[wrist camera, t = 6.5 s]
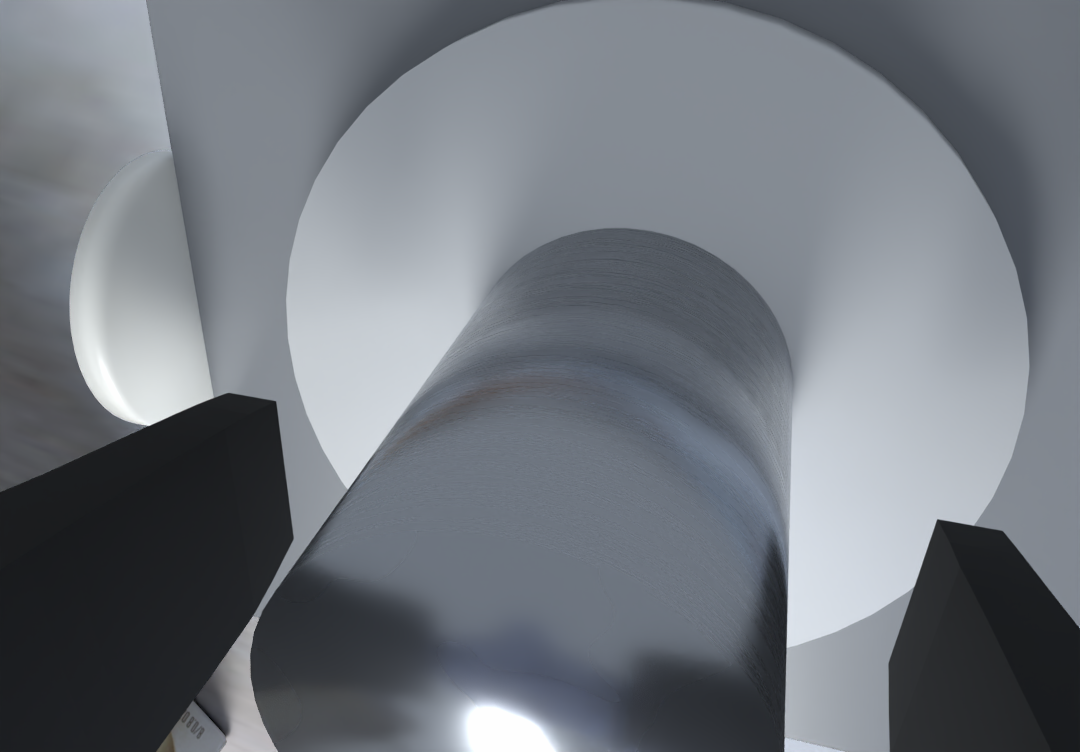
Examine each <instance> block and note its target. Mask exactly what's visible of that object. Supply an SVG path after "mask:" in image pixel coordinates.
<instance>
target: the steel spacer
mask: <svg viewBox="0 0 1080 752" xmlns="http://www.w3.org/2000/svg"><path fill="white" fill-rule="evenodd" d="M792 402H793V373H792V365H791V358H790V354H789V350H788V347H787V343H786V339H785V337H784V335H783V332H782V330H781V328H780V326H779V323H778V321H777V319H776V318H775V316H774V314H773V313H772V311H771V309H770V308H769V306H768V305H767V303H766V301H765V300H764V299H763V298H762V297H761V295H760V294H759V293H758V292H757V291H756V289H755V288H754V287H753V286H752V285H751V284H750V283H749V282H748V281H747V280H746V279H745V278H744V277H743V276H742V275H740V274H739V273H738V272H737V271H736V270H735V269H734V268H732V267H731V266H729V265H728V264H727V263H725V262H724V261H722V260H721V259H720V258H718V257H717V256H715V255H713V254H711V253H710V252H708V251H706V250H704V249H702V248H700V247H698V246H696V245H694V244H692V243H689V242H686V241H684V240H681V239H679V238H676V237H673V236H669V235H665V234H661V233H657V232H653V231H648V230H639V229H631V228H603V229H596V230H588V231H582V232H578V233H574V234H571V235H567V236H563V237H560V238H558V239H556V240H553V241H551V242H548V243H546V244H544V245H542V246H540V247H538V248H537V249H535V250H533V251H532V252H530V253H528V254H527V255H525V256H524V257H522V258H521V259H520V260H519V261H517V262H516V263H515V264H514V265H513V266H511V267H510V268H509V269H508V270H507V271H506V272H505V273H504V275H503V276H502V277H501V278H500V279H499V280H498V281H497V282H496V284H495V285H494V286H493V288H492V289H491V291H490V292H489V293H488V295H487V296H486V298H485V299H484V300H483V302H482V303H481V304H480V306H479V307H478V309H477V310H476V311H475V313H474V314H473V316H472V317H471V318H470V320H469V321H468V323H467V324H466V325H465V327H464V328H463V330H462V331H461V332H460V334H459V335H458V337H457V338H456V339H455V341H454V342H453V344H452V345H451V346H450V348H449V349H448V351H447V352H446V353H445V355H444V356H443V358H442V359H441V360H440V362H439V363H438V365H437V366H436V367H435V369H434V370H433V372H432V373H431V374H430V376H429V377H428V378H427V380H426V381H425V383H424V384H423V385H422V387H421V388H420V390H419V391H418V392H417V394H416V395H415V397H414V398H413V399H412V401H411V402H410V404H409V405H408V406H407V408H406V409H405V411H404V412H403V413H402V415H401V416H400V418H399V419H398V420H397V422H396V423H395V425H394V426H393V427H392V429H391V430H390V432H389V433H388V434H387V436H386V437H385V439H384V440H383V441H382V443H381V444H380V446H379V447H378V448H377V450H376V451H375V452H374V454H373V455H372V457H371V458H370V459H369V461H368V462H367V464H366V465H365V466H364V468H363V469H362V471H361V472H360V473H359V475H358V476H357V478H356V479H355V480H354V482H353V483H352V485H351V486H350V487H349V489H348V490H347V492H346V493H345V494H344V496H343V497H342V499H341V500H340V501H339V503H338V504H337V506H336V507H335V508H334V510H333V511H332V513H331V514H330V515H329V517H328V518H327V520H326V521H325V522H324V524H323V525H322V526H321V528H320V529H319V531H318V532H317V533H316V535H315V536H314V538H313V539H312V540H311V542H310V543H309V545H308V546H307V547H306V549H305V550H304V552H303V553H302V554H301V556H300V557H299V559H298V560H297V561H296V563H295V564H294V566H293V567H292V568H291V570H290V571H289V573H288V574H287V575H286V577H285V578H284V580H283V581H282V582H281V584H280V585H279V587H278V588H277V589H276V591H275V592H274V594H273V595H272V597H271V598H270V600H269V601H268V603H267V605H266V606H265V608H264V609H263V611H262V613H261V616H260V618H259V621H258V624H257V626H256V629H255V631H254V636H253V642H252V648H251V654H250V659H251V681H252V686H253V691H254V696H255V701H256V704H257V707H258V710H259V712H260V715H261V718H262V721H263V724H264V726H265V728H266V730H267V732H268V734H269V736H270V738H271V739H272V741H273V743H274V745H275V747H276V749H277V750H278V752H784V739H785V697H786V655H787V613H788V571H789V529H790V486H791V444H792Z"/></svg>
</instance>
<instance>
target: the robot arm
mask: <svg viewBox="0 0 1080 752" xmlns="http://www.w3.org/2000/svg"><path fill="white" fill-rule="evenodd" d="M293 540H294V535H293V528H292V520H291V512H290V504H289V497H288V489H287V481H286V473H285V466H284V458H283V450H282V442H281V434H280V427H279V419H278V411H277V403H276V401H273V400H267V399H261V398H256V397H250V396H245V395H239V394H233V393H226V394H223V395H221V396H218V397H215V398H212V399H210V400H207V401H205V402H202V403H200V404H197V405H195V406H193V407H190V408H188V409H186V410H183V411H181V412H179V413H177V414H174V415H172V416H170V417H168V418H165V419H163V420H161V421H159V422H157V423H154V424H152V425H150V426H148V427H146V428H143V429H141V430H139V431H137V432H135V433H133V434H130V435H128V436H126V437H124V438H122V439H120V440H117V441H115V442H113V443H111V444H109V445H107V446H104V447H102V448H100V449H98V450H96V451H93V452H91V453H89V454H87V455H85V456H82V457H80V458H78V459H76V460H74V461H72V462H69V463H67V464H65V465H63V466H61V467H58V468H56V469H54V470H52V471H50V472H47V473H45V474H43V475H40V476H38V477H36V478H33V479H31V480H29V481H26V482H24V483H21V484H19V485H17V486H14V487H12V488H10V489H7V490H5V491H2V492H0V752H156V751H157V750H158V749H159V747H160V746H161V744H162V743H163V742H164V740H165V739H166V737H167V736H168V735H169V733H170V732H171V731H172V729H173V728H174V726H175V725H176V724H177V722H178V721H179V719H180V718H181V717H182V715H183V714H184V712H185V711H186V710H187V708H188V707H189V706H190V704H191V703H192V701H193V700H194V699H195V697H196V696H197V694H198V693H199V692H200V690H201V689H202V687H203V686H204V685H205V683H206V682H207V681H208V679H209V678H210V676H211V675H212V674H213V672H214V671H215V669H216V668H217V667H218V665H219V664H220V662H221V661H222V659H223V658H224V657H225V655H226V654H227V652H228V651H229V650H230V648H231V647H232V645H233V644H234V642H235V641H236V640H237V638H238V637H239V635H240V634H241V633H242V631H243V630H244V628H245V627H246V625H247V624H248V622H249V621H250V619H251V618H252V617H253V615H254V614H255V612H256V610H257V608H258V607H259V605H260V603H261V601H262V599H263V597H264V596H265V594H266V592H267V590H268V588H269V587H270V585H271V583H272V581H273V579H274V577H275V575H276V573H277V571H278V569H279V567H280V565H281V563H282V561H283V559H284V558H285V556H286V554H287V552H288V550H289V548H290V546H291V544H292V542H293ZM888 669H889V741H890V752H1080V628H1079V627H1078V625H1077V624H1076V623H1075V622H1074V620H1073V619H1072V618H1071V617H1070V615H1069V614H1068V613H1067V611H1066V610H1065V609H1064V608H1063V606H1062V605H1061V604H1060V603H1059V601H1058V600H1057V599H1056V598H1055V596H1054V595H1053V594H1052V592H1051V591H1050V590H1049V589H1048V587H1047V586H1046V585H1045V583H1044V582H1043V581H1042V580H1041V578H1040V577H1039V576H1038V574H1037V573H1036V572H1035V571H1034V569H1033V568H1032V567H1031V565H1030V564H1029V563H1028V562H1027V560H1026V559H1025V558H1024V556H1023V555H1022V554H1021V553H1020V551H1019V550H1018V549H1017V548H1016V546H1015V545H1014V544H1013V543H1012V541H1011V540H1010V539H1009V538H1008V537H1007V535H1006V534H1005V533H1004V532H1003V531H1001V530H996V529H990V528H984V527H979V526H973V525H968V524H962V523H956V522H951V521H945V520H940V519H937V521H936V524H935V527H934V530H933V533H932V536H931V539H930V542H929V545H928V548H927V551H926V554H925V557H924V560H923V563H922V566H921V569H920V572H919V575H918V577H917V580H916V583H915V586H914V589H913V592H912V595H911V598H910V601H909V604H908V607H907V610H906V613H905V616H904V619H903V622H902V625H901V628H900V631H899V634H898V636H897V639H896V642H895V645H894V648H893V651H892V654H891V657H890V660H889V663H888Z"/></svg>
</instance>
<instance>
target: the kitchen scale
mask: <svg viewBox="0 0 1080 752" xmlns="http://www.w3.org/2000/svg"><path fill="white" fill-rule="evenodd" d="M146 2H147V8H148V14H149V20H150V26H151V31H152V37H153V43H154V49H155V55H156V61H157V67H158V73H159V78H160V84H161V90H162V96H163V102H164V108H165V114H166V120H167V126H168V131H169V137H170V143H171V149H172V150H159V151H153V152H150V153H147V154H144V155H141V156H140V157H138V158H136V159H134V160H133V161H131V162H129V163H128V164H127V165H126V166H125V167H123V168H122V169H121V170H120V171H119V172H118V173H117V174H116V175H115V176H114V177H113V178H112V179H111V180H110V182H109V183H108V184H107V185H106V187H105V188H104V190H103V191H102V193H101V194H100V195H99V197H98V198H97V200H96V202H95V204H94V206H93V208H92V210H91V212H90V213H89V215H88V218H87V220H86V223H85V225H84V228H83V230H82V233H81V236H80V240H79V243H78V246H77V250H76V253H75V259H74V264H73V269H72V275H71V285H70V326H71V335H72V340H73V345H74V351H75V355H76V358H77V361H78V364H79V367H80V370H81V372H82V375H83V377H84V379H85V381H86V383H87V385H88V387H89V388H90V390H91V392H92V393H93V395H94V396H95V398H96V399H97V400H98V401H99V402H100V403H101V404H102V406H103V407H104V408H105V409H107V410H108V411H109V412H111V413H112V414H113V415H114V416H116V417H118V418H120V419H122V420H124V421H128V422H132V423H136V424H141V425H146V426H150V425H152V424H154V423H157V422H159V421H161V420H163V419H165V418H168V417H170V416H172V415H174V414H177V413H179V412H181V411H183V410H186V409H188V408H190V407H193V406H195V405H197V404H200V403H202V402H205V401H207V400H210V399H212V398H215V397H218V396H221V395H223V394H226V393H233V394H239V395H245V396H250V397H256V398H261V399H267V400H273V401H276V403H277V411H278V419H279V427H280V434H281V442H282V450H283V458H284V466H285V473H286V481H287V489H288V497H289V504H290V512H291V520H292V528H293V535H294V540H293V542H292V544H291V546H290V548H289V550H288V552H287V554H286V556H285V558H284V559H283V561H282V563H281V565H280V567H279V569H278V571H277V573H276V575H275V577H274V579H273V581H272V583H271V585H270V587H269V588H268V590H267V592H266V594H265V596H264V597H263V599H262V601H261V603H260V605H259V607H258V608H257V610H256V612H255V614H254V615H253V616H255V617H259V618H260V616H261V613H262V611H263V609H264V608H265V606H266V605H267V603H268V601H269V600H270V598H271V597H272V595H273V594H274V592H275V591H276V589H277V588H278V587H279V585H280V584H281V582H282V581H283V580H284V578H285V577H286V575H287V574H288V573H289V571H290V570H291V568H292V567H293V566H294V564H295V563H296V561H297V560H298V559H299V557H300V556H301V554H302V553H303V552H304V550H305V549H306V547H307V546H308V545H309V543H310V542H311V540H312V539H313V538H314V536H315V535H316V533H317V532H318V531H319V529H320V528H321V526H322V525H323V524H324V522H325V521H326V520H327V518H328V517H329V515H330V514H331V513H332V511H333V510H334V508H335V507H336V506H337V504H338V503H339V501H340V500H341V499H342V497H343V496H344V494H345V493H346V492H347V490H348V489H349V487H350V486H351V485H352V483H353V482H354V480H355V479H356V478H357V476H358V475H359V473H360V472H361V471H362V469H363V468H364V466H365V465H366V464H367V462H368V461H369V459H370V458H371V457H372V455H373V454H374V452H375V451H376V450H377V448H378V447H379V446H380V444H381V443H382V441H383V440H384V439H385V437H386V436H387V434H388V433H389V432H390V430H391V429H392V427H393V426H394V425H395V423H396V422H397V420H398V419H399V418H400V416H401V415H402V413H403V412H404V411H405V409H406V408H407V406H408V405H409V404H410V402H411V401H412V399H413V398H414V397H415V395H416V394H417V392H418V391H419V390H420V388H421V387H422V385H423V384H424V383H425V381H426V380H427V378H428V377H429V376H430V374H431V373H432V372H433V370H434V369H435V367H436V366H437V365H438V363H439V362H440V360H441V359H442V358H443V356H444V355H445V353H446V352H447V351H448V349H449V348H450V346H451V345H452V344H453V342H454V341H455V339H456V338H457V337H458V335H459V334H460V332H461V331H462V330H463V328H464V327H465V325H466V324H467V323H468V321H469V320H470V318H471V317H472V316H473V314H474V313H475V311H476V310H477V309H478V307H479V306H480V304H481V303H482V302H483V300H484V299H485V298H486V296H487V295H488V293H489V292H490V291H491V289H492V288H493V286H494V285H495V284H496V282H497V281H498V280H499V279H500V278H501V277H502V276H503V275H504V273H505V272H506V271H507V270H508V269H509V268H510V267H511V266H513V265H514V264H515V263H516V262H517V261H519V260H520V259H521V258H522V257H524V256H525V255H527V254H528V253H530V252H532V251H533V250H535V249H537V248H538V247H540V246H542V245H544V244H546V243H548V242H551V241H553V240H556V239H558V238H560V237H563V236H567V235H571V234H574V233H578V232H582V231H588V230H596V229H603V228H631V229H639V230H648V231H653V232H657V233H661V234H665V235H669V236H673V237H676V238H679V239H681V240H684V241H686V242H689V243H692V244H694V245H696V246H698V247H700V248H702V249H704V250H706V251H708V252H710V253H711V254H713V255H715V256H717V257H718V258H720V259H721V260H722V261H724V262H725V263H727V264H728V265H729V266H731V267H732V268H734V269H735V270H736V271H737V272H738V273H739V274H740V275H742V276H743V277H744V278H745V279H746V280H747V281H748V282H749V283H750V284H751V285H752V286H753V287H754V288H755V289H756V291H757V292H758V293H759V294H760V295H761V297H762V298H763V299H764V300H765V301H766V303H767V305H768V306H769V308H770V309H771V311H772V313H773V314H774V316H775V318H776V319H777V321H778V323H779V326H780V328H781V330H782V332H783V335H784V337H785V339H786V343H787V347H788V350H789V354H790V358H791V365H792V373H793V402H792V444H791V486H790V529H789V571H788V613H787V655H786V697H785V738H789V739H793V740H797V741H802V742H806V743H810V744H815V745H819V746H824V747H828V748H832V749H837V750H841V751H845V752H890V741H889V669H888V663H889V660H890V657H891V654H892V651H893V648H894V645H895V642H896V639H897V636H898V634H899V631H900V628H901V625H902V622H903V619H904V616H905V613H906V610H907V607H908V604H909V601H910V598H911V595H912V592H913V589H914V586H915V583H916V580H917V577H918V575H919V572H920V569H921V566H922V563H923V560H924V557H925V554H926V551H927V548H928V545H929V542H930V539H931V536H932V533H933V530H934V527H935V524H936V521H937V519H940V520H945V521H951V522H956V523H962V524H968V525H973V526H979V527H984V528H990V529H996V530H1001V531H1003V532H1004V533H1005V534H1006V535H1007V537H1008V538H1009V539H1010V540H1011V541H1012V543H1013V544H1014V545H1015V546H1016V548H1017V549H1018V550H1019V551H1020V553H1021V554H1022V555H1023V556H1024V558H1025V559H1026V560H1027V562H1028V563H1029V564H1030V565H1031V567H1032V568H1033V569H1034V571H1035V572H1036V573H1037V574H1038V576H1039V577H1040V578H1041V580H1042V581H1043V582H1044V583H1045V585H1046V586H1047V587H1048V589H1049V590H1050V591H1051V592H1052V594H1053V595H1054V596H1055V598H1056V599H1057V600H1058V601H1059V603H1060V604H1061V605H1062V606H1063V608H1064V609H1065V610H1066V611H1067V613H1068V614H1069V615H1070V617H1071V618H1072V619H1073V620H1074V622H1075V623H1076V624H1077V625H1078V627H1079V626H1080V0H146Z"/></svg>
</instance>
